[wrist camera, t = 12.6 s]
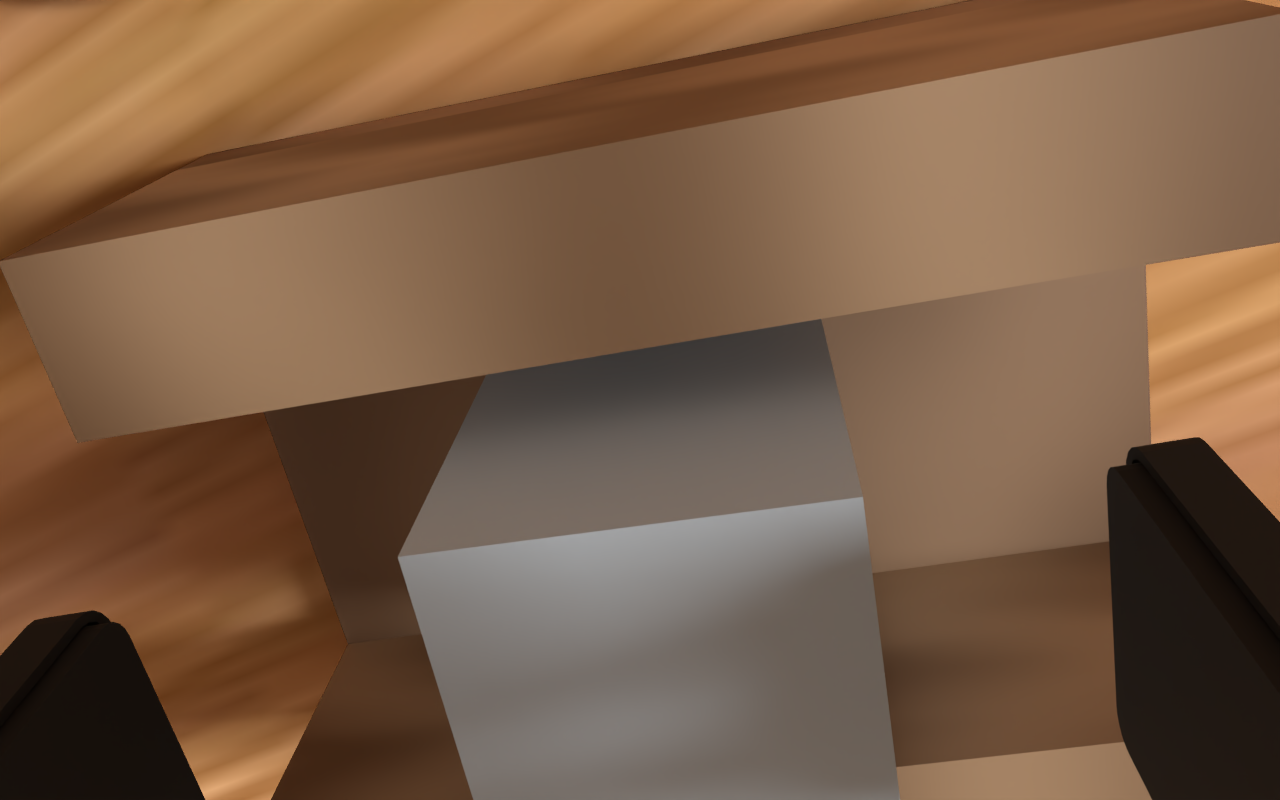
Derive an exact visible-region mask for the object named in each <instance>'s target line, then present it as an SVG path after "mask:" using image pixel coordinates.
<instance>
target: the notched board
mask: <svg viewBox="0 0 1280 800" xmlns="http://www.w3.org/2000/svg"><path fill="white" fill-rule="evenodd" d="M1279 242H1280V8H1279V7H1274V6H1269V5H1265V4H1260V3H1255V2H1250V1H1245V0H970V1H965V2H960V3H955V4H950V5H945V6H940V7H935V8H930V9H925V10H921V11H916V12H911V13H906V14H901V15H896V16H891V17H886V18H881V19H876V20H871V21H866V22H861V23H856V24H851V25H846V26H841V27H836V28H831V29H826V30H821V31H816V32H812V33H807V34H802V35H797V36H792V37H787V38H782V39H777V40H772V41H767V42H762V43H757V44H752V45H747V46H742V47H737V48H732V49H727V50H722V51H717V52H712V53H707V54H703V55H698V56H693V57H688V58H683V59H678V60H673V61H668V62H663V63H658V64H653V65H648V66H643V67H638V68H633V69H628V70H623V71H618V72H613V73H608V74H603V75H598V76H594V77H589V78H584V79H579V80H574V81H569V82H564V83H559V84H554V85H549V86H544V87H539V88H534V89H529V90H524V91H519V92H514V93H509V94H504V95H499V96H494V97H489V98H485V99H480V100H475V101H470V102H465V103H460V104H455V105H450V106H445V107H440V108H435V109H430V110H425V111H420V112H415V113H410V114H405V115H400V116H395V117H390V118H385V119H380V120H376V121H371V122H366V123H361V124H356V125H351V126H346V127H341V128H336V129H331V130H326V131H321V132H316V133H311V134H306V135H301V136H296V137H291V138H286V139H281V140H276V141H271V142H267V143H262V144H257V145H252V146H247V147H242V148H237V149H232V150H227V151H222V152H217V153H212V154H207V155H205V156H203V157H201V158H199V159H197V160H196V161H194V162H192V163H190V164H188V165H186V166H184V167H182V168H180V169H178V170H176V171H174V172H172V173H170V174H168V175H166V176H164V177H162V178H160V179H158V180H156V181H154V182H153V183H151V184H149V185H147V186H145V187H143V188H141V189H139V190H137V191H135V192H133V193H131V194H129V195H127V196H125V197H123V198H121V199H119V200H117V201H115V202H113V203H112V204H110V205H108V206H106V207H104V208H102V209H100V210H98V211H96V212H94V213H92V214H90V215H88V216H86V217H84V218H82V219H80V220H78V221H76V222H74V223H72V224H70V225H69V226H67V227H65V228H63V229H61V230H59V231H57V232H55V233H53V234H51V235H49V236H47V237H45V238H43V239H41V240H39V241H37V242H35V243H33V244H31V245H29V246H27V247H26V248H24V249H22V250H20V251H18V252H16V253H14V254H12V255H10V256H8V257H6V258H4V259H2V260H0V267H1V270H2V272H3V274H4V276H5V279H6V281H7V283H8V286H9V288H10V290H11V292H12V295H13V297H14V299H15V302H16V304H17V306H18V308H19V311H20V313H21V315H22V317H23V320H24V322H25V324H26V327H27V329H28V331H29V333H30V336H31V338H32V340H33V343H34V345H35V347H36V349H37V352H38V354H39V356H40V358H41V361H42V363H43V365H44V368H45V370H46V372H47V374H48V377H49V379H50V381H51V384H52V386H53V388H54V390H55V393H56V395H57V397H58V399H59V402H60V404H61V406H62V409H63V411H64V413H65V415H66V418H67V420H68V422H69V425H70V427H71V429H72V431H73V434H74V436H75V438H76V440H77V443H80V442H86V441H92V440H98V439H104V438H110V437H116V436H122V435H128V434H134V433H140V432H146V431H152V430H158V429H164V428H170V427H176V426H182V425H188V424H194V423H200V422H206V421H212V420H218V419H224V418H230V417H236V416H242V415H248V414H254V413H260V412H264V414H265V417H266V420H267V423H268V425H269V428H270V431H271V434H272V436H273V439H274V442H275V445H276V447H277V450H278V453H279V456H280V458H281V461H282V464H283V467H284V469H285V472H286V475H287V478H288V480H289V483H290V486H291V489H292V491H293V494H294V497H295V500H296V502H297V505H298V508H299V511H300V513H301V516H302V519H303V522H304V524H305V527H306V530H307V533H308V535H309V538H310V541H311V544H312V546H313V549H314V552H315V555H316V557H317V560H318V563H319V566H320V568H321V571H322V574H323V577H324V579H325V582H326V585H327V588H328V590H329V593H330V596H331V599H332V601H333V604H334V607H335V610H336V612H337V615H338V618H339V621H340V623H341V626H342V629H343V632H344V634H345V637H346V640H347V643H348V645H347V647H346V649H345V651H344V653H343V655H342V657H341V659H340V661H339V663H338V665H337V667H336V669H335V671H334V674H333V676H332V678H331V680H330V682H329V684H328V686H327V688H326V690H325V692H324V694H323V696H322V698H321V700H320V702H319V704H318V706H317V708H316V710H315V712H314V714H313V716H312V718H311V720H310V722H309V724H308V726H307V728H306V730H305V732H304V734H303V736H302V738H301V740H300V742H299V744H298V746H297V748H296V750H295V752H294V754H293V756H292V758H291V760H290V762H289V764H288V766H287V768H286V770H285V772H284V774H283V776H282V778H281V780H280V782H279V784H278V786H277V788H276V791H275V793H274V795H273V797H272V799H271V800H473V797H472V794H471V791H470V788H469V785H468V781H467V778H466V775H465V772H464V768H463V765H462V762H461V759H460V756H459V752H458V749H457V746H456V743H455V740H454V736H453V733H452V730H451V727H450V724H449V720H448V717H447V714H446V711H445V707H444V704H443V701H442V698H441V695H440V691H439V688H438V685H437V682H436V679H435V675H434V672H433V669H432V666H431V663H430V659H429V656H428V653H427V650H426V647H425V643H424V640H423V637H422V634H421V630H420V627H419V624H418V621H417V618H416V614H415V611H414V608H413V605H412V602H411V598H410V595H409V592H408V589H407V586H406V582H405V579H404V576H403V573H402V569H401V566H400V563H399V560H398V555H399V553H400V551H401V549H402V547H403V545H404V543H405V541H406V539H407V537H408V535H409V533H410V531H411V529H412V526H413V524H414V522H415V520H416V518H417V516H418V514H419V512H420V510H421V508H422V506H423V504H424V502H425V500H426V498H427V496H428V494H429V492H430V489H431V487H432V485H433V483H434V481H435V479H436V477H437V475H438V473H439V471H440V469H441V467H442V465H443V463H444V461H445V459H446V457H447V454H448V452H449V450H450V448H451V446H452V444H453V442H454V440H455V438H456V436H457V434H458V432H459V430H460V428H461V426H462V424H463V422H464V420H465V417H466V415H467V413H468V411H469V409H470V407H471V405H472V403H473V401H474V399H475V397H476V395H477V393H478V391H479V389H480V387H481V385H482V382H483V380H484V378H485V376H486V375H488V374H494V373H500V372H506V371H512V370H518V369H524V368H530V367H536V366H542V365H548V364H554V363H560V362H566V361H572V360H578V359H584V358H590V357H596V356H602V355H608V354H614V353H619V352H625V351H631V350H637V349H643V348H649V347H655V346H661V345H667V344H673V343H679V342H685V341H691V340H697V339H703V338H709V337H715V336H721V335H727V334H733V333H739V332H745V331H751V330H757V329H763V328H769V327H775V326H781V325H787V324H793V323H799V322H805V321H811V320H817V319H821V320H822V324H823V328H824V333H825V337H826V341H827V345H828V350H829V354H830V358H831V363H832V367H833V371H834V375H835V380H836V384H837V388H838V392H839V397H840V401H841V405H842V410H843V414H844V418H845V422H846V427H847V431H848V435H849V439H850V444H851V448H852V452H853V457H854V461H855V465H856V469H857V474H858V478H859V482H860V486H861V491H862V495H863V501H864V510H865V518H866V526H867V534H868V542H869V550H870V558H871V566H872V575H873V583H874V591H875V599H876V607H877V615H878V623H879V631H880V640H881V648H882V656H883V664H884V672H885V680H886V688H887V697H888V705H889V713H890V721H891V729H892V737H893V745H894V753H895V762H896V770H897V778H898V786H899V794H900V800H1152V799H1151V797H1150V795H1149V793H1148V791H1147V789H1146V787H1145V785H1144V783H1143V781H1142V779H1141V777H1140V775H1139V773H1138V771H1137V769H1136V767H1135V765H1134V763H1133V761H1132V759H1131V757H1130V755H1129V753H1128V751H1127V748H1126V746H1125V743H1124V740H1123V737H1122V734H1121V730H1120V726H1119V721H1118V716H1117V707H1116V685H1115V663H1114V640H1113V618H1112V595H1111V573H1110V550H1109V528H1108V506H1107V473H1108V470H1109V469H1110V467H1115V466H1122V465H1126V459H1127V454H1128V451H1129V450H1130V449H1131V447H1138V446H1144V445H1150V444H1151V427H1150V394H1149V361H1148V329H1147V296H1146V265H1147V264H1153V263H1159V262H1165V261H1171V260H1177V259H1183V258H1189V257H1195V256H1201V255H1207V254H1213V253H1219V252H1225V251H1231V250H1237V249H1243V248H1249V247H1255V246H1261V245H1267V244H1273V243H1279Z"/></svg>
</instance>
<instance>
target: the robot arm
mask: <svg viewBox="0 0 1280 800" xmlns="http://www.w3.org/2000/svg"><path fill="white" fill-rule="evenodd" d="M1107 506H1108V528H1109V550H1110V573H1111V595H1112V618H1113V640H1114V663H1115V685H1116V707H1117V716H1118V721H1119V726H1120V730H1121V734H1122V737H1123V740H1124V743H1125V746H1126V748H1127V751H1128V753H1129V755H1130V757H1131V759H1132V761H1133V763H1134V765H1135V767H1136V769H1137V771H1138V773H1139V775H1140V777H1141V779H1142V781H1143V783H1144V785H1145V787H1146V789H1147V791H1148V793H1149V795H1150V797H1151V799H1152V800H1280V522H1279V521H1278V520H1277V519H1276V518H1275V516H1274V515H1273V514H1272V513H1271V512H1270V511H1269V510H1268V509H1267V508H1266V507H1265V506H1264V505H1263V503H1262V502H1261V501H1260V500H1259V499H1258V498H1257V497H1256V496H1255V495H1254V494H1253V493H1252V492H1251V490H1250V489H1249V488H1248V487H1247V486H1246V485H1245V484H1244V483H1243V482H1242V481H1241V480H1240V479H1239V477H1238V476H1237V475H1236V474H1235V473H1234V472H1233V471H1232V470H1231V469H1230V468H1229V467H1228V466H1227V464H1226V463H1225V462H1224V461H1223V460H1222V459H1221V458H1220V457H1219V456H1218V455H1217V454H1216V453H1215V451H1214V450H1213V449H1212V448H1211V447H1210V446H1209V445H1208V444H1207V443H1206V442H1205V441H1204V440H1202V439H1201V438H1189V439H1182V440H1176V441H1170V442H1163V443H1157V444H1150V445H1144V446H1138V447H1131V449H1130V450H1129V451H1128V454H1127V459H1126V465H1122V466H1115V467H1110V469H1109V470H1108V473H1107ZM0 800H205V798H204V796H203V794H202V792H201V790H200V787H199V785H198V783H197V781H196V779H195V777H194V774H193V772H192V770H191V768H190V766H189V764H188V761H187V759H186V757H185V755H184V753H183V751H182V748H181V746H180V744H179V742H178V740H177V738H176V735H175V733H174V731H173V729H172V727H171V725H170V722H169V720H168V718H167V716H166V714H165V712H164V709H163V707H162V705H161V703H160V701H159V699H158V696H157V694H156V692H155V690H154V688H153V686H152V684H151V681H150V679H149V677H148V675H147V673H146V671H145V668H144V666H143V664H142V662H141V660H140V658H139V655H138V653H137V651H136V649H135V647H134V645H133V642H132V640H131V638H130V636H129V634H128V633H127V631H126V629H125V628H124V627H123V626H121V625H120V624H118V623H115V622H110V620H109V619H108V618H107V617H106V616H104V615H103V614H102V613H100V612H97V611H87V612H80V613H74V614H68V615H61V616H55V617H49V618H43V619H38V620H34V621H33V622H32V623H30V624H29V625H28V626H27V627H26V628H25V629H24V630H23V631H22V632H21V633H20V634H19V636H18V637H17V638H16V639H15V640H14V641H13V642H12V643H11V645H10V646H9V647H8V648H7V649H6V650H5V651H4V652H3V653H2V655H1V656H0Z"/></svg>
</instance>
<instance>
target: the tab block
mask: <svg viewBox="0 0 1280 800" xmlns="http://www.w3.org/2000/svg"><path fill="white" fill-rule="evenodd" d="M398 560H399V563H400V566H401V569H402V573H403V576H404V579H405V582H406V586H407V589H408V592H409V595H410V598H411V602H412V605H413V608H414V611H415V614H416V618H417V621H418V624H419V627H420V630H421V634H422V637H423V640H424V643H425V647H426V650H427V653H428V656H429V659H430V663H431V666H432V669H433V672H434V675H435V679H436V682H437V685H438V688H439V691H440V695H441V698H442V701H443V704H444V707H445V711H446V714H447V717H448V720H449V724H450V727H451V730H452V733H453V736H454V740H455V743H456V746H457V749H458V752H459V756H460V759H461V762H462V765H463V768H464V772H465V775H466V778H467V781H468V785H469V788H470V791H471V794H472V797H473V800H900V794H899V786H898V778H897V770H896V762H895V753H894V745H893V737H892V729H891V721H890V713H889V705H888V697H887V688H886V680H885V672H884V664H883V656H882V648H881V640H880V631H879V623H878V615H877V607H876V599H875V591H874V583H873V575H872V566H871V558H870V550H869V542H868V534H867V526H866V518H865V510H864V501H863V495H862V491H861V486H860V482H859V478H858V474H857V469H856V465H855V461H854V457H853V452H852V448H851V444H850V439H849V435H848V431H847V427H846V422H845V418H844V414H843V410H842V405H841V401H840V397H839V392H838V388H837V384H836V380H835V375H834V371H833V367H832V363H831V358H830V354H829V350H828V345H827V341H826V337H825V333H824V328H823V324H822V320H821V319H817V320H811V321H805V322H799V323H793V324H787V325H781V326H775V327H769V328H763V329H757V330H751V331H745V332H739V333H733V334H727V335H721V336H715V337H709V338H703V339H697V340H691V341H685V342H679V343H673V344H667V345H661V346H655V347H649V348H643V349H637V350H631V351H625V352H619V353H614V354H608V355H602V356H596V357H590V358H584V359H578V360H572V361H566V362H560V363H554V364H548V365H542V366H536V367H530V368H524V369H518V370H512V371H506V372H500V373H494V374H488V375H486V376H485V378H484V380H483V382H482V385H481V387H480V389H479V391H478V393H477V395H476V397H475V399H474V401H473V403H472V405H471V407H470V409H469V411H468V413H467V415H466V417H465V420H464V422H463V424H462V426H461V428H460V430H459V432H458V434H457V436H456V438H455V440H454V442H453V444H452V446H451V448H450V450H449V452H448V454H447V457H446V459H445V461H444V463H443V465H442V467H441V469H440V471H439V473H438V475H437V477H436V479H435V481H434V483H433V485H432V487H431V489H430V492H429V494H428V496H427V498H426V500H425V502H424V504H423V506H422V508H421V510H420V512H419V514H418V516H417V518H416V520H415V522H414V524H413V526H412V529H411V531H410V533H409V535H408V537H407V539H406V541H405V543H404V545H403V547H402V549H401V551H400V553H399V555H398Z"/></svg>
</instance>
